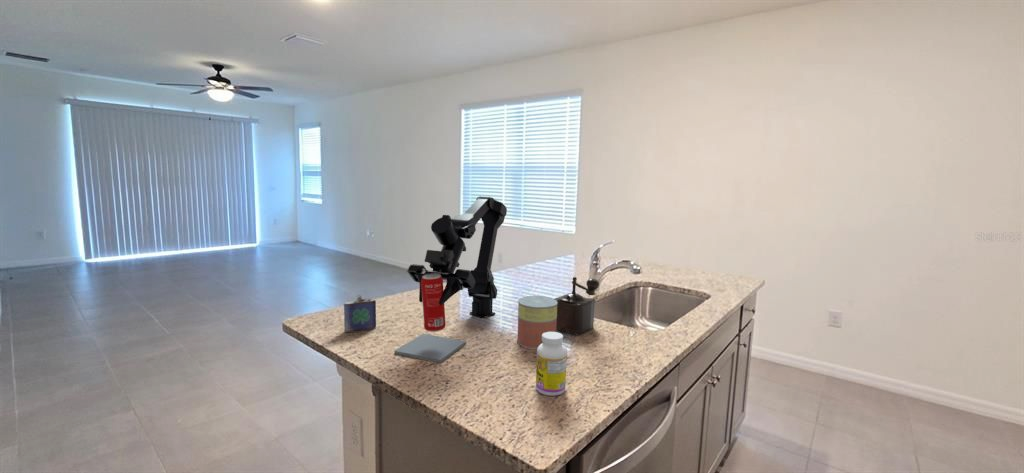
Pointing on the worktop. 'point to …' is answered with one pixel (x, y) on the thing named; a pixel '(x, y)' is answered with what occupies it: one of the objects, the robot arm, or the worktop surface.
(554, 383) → the supplement bottle
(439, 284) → the beverage can
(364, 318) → the flask
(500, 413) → the worktop surface
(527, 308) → the canned food
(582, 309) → the pepper mill
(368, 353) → the worktop surface
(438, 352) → the rubber mat
